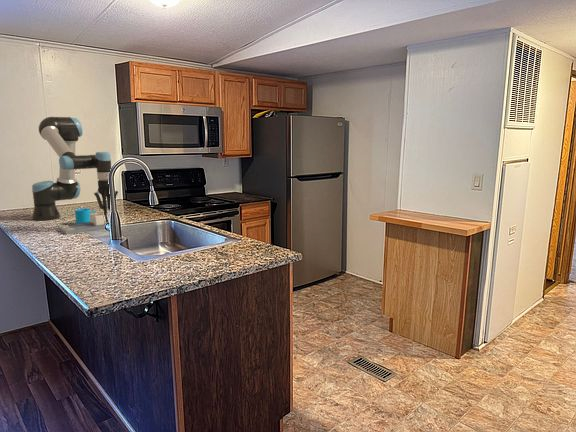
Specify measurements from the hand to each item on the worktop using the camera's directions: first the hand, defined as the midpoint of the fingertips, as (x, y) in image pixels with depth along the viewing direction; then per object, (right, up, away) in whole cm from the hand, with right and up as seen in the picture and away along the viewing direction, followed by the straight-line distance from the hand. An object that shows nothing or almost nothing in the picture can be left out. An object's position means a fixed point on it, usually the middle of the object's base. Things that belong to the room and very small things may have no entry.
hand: (108, 220), depth 233 cm
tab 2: (-4, -3, -3) cm, 6 cm away
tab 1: (-9, -1, +3) cm, 9 cm away
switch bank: (-10, -5, -4) cm, 12 cm away
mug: (-19, -2, +14) cm, 23 cm away
